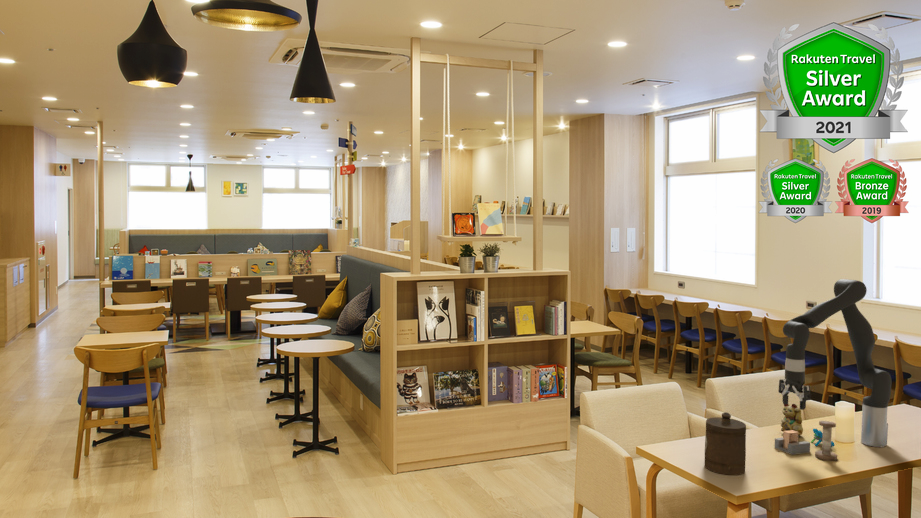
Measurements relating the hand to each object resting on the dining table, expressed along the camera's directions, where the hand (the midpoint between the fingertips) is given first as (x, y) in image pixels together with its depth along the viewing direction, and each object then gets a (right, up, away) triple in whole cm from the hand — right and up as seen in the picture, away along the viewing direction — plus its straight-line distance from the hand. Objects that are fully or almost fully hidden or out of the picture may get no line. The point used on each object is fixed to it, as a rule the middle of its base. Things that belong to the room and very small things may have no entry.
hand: (793, 406), depth 275 cm
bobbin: (+9, -19, -8) cm, 23 cm away
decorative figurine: (+10, -18, +21) cm, 30 cm away
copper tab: (-1, -18, +1) cm, 18 cm away
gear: (+16, -19, +7) cm, 26 cm away
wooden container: (-38, -20, -21) cm, 48 cm away
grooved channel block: (0, -19, +1) cm, 19 cm away
